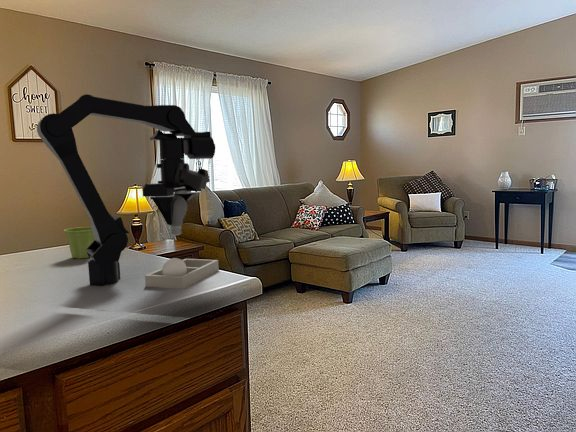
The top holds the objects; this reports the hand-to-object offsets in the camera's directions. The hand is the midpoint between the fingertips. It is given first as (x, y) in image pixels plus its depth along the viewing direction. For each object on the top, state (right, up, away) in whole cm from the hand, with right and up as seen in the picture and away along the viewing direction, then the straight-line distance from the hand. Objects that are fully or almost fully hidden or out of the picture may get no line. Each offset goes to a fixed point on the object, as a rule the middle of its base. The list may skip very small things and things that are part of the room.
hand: (175, 223), depth 108 cm
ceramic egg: (+2, -13, -10) cm, 16 cm away
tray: (+4, -14, -6) cm, 15 cm away
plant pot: (-35, -11, +26) cm, 45 cm away
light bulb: (0, -3, 0) cm, 3 cm away
